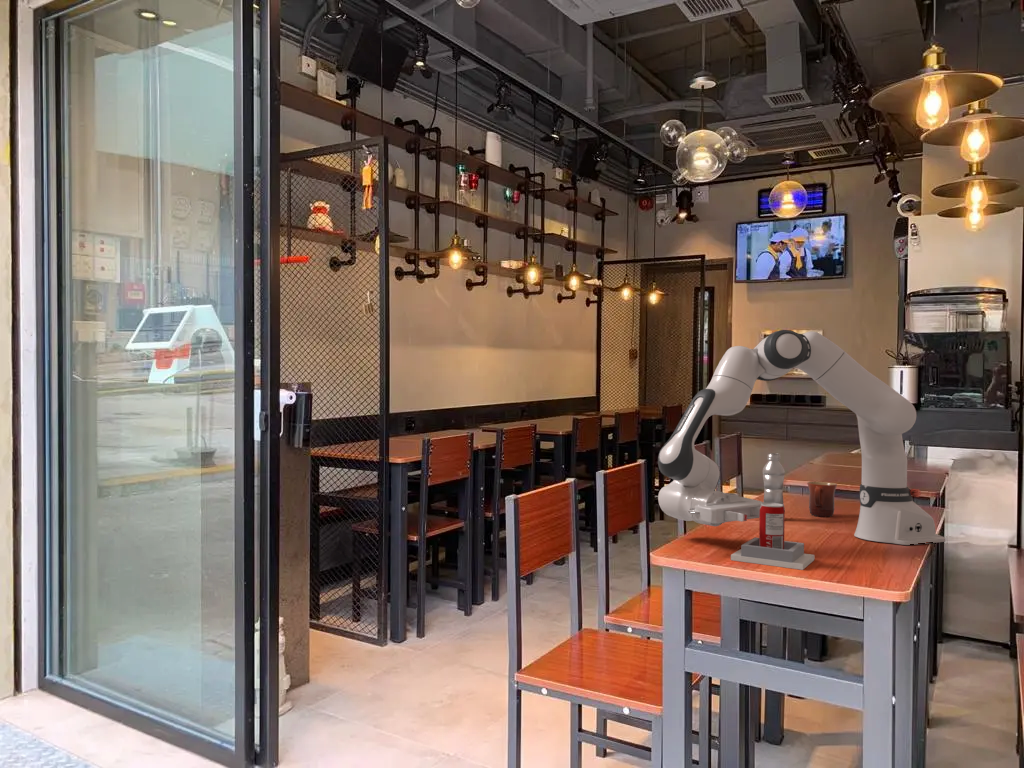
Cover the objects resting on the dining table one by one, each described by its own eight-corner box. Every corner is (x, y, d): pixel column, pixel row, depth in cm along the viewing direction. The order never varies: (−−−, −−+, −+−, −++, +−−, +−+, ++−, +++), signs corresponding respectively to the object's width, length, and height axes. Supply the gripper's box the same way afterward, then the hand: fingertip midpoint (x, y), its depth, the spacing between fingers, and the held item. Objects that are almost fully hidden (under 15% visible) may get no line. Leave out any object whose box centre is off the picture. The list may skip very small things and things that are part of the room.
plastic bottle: (787, 521, 232) (788, 455, 232) (765, 520, 232) (766, 454, 233) (780, 517, 239) (781, 453, 239) (758, 517, 239) (759, 452, 239)
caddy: (745, 551, 188) (745, 536, 188) (814, 560, 180) (814, 544, 180) (730, 560, 178) (731, 544, 178) (802, 569, 169) (803, 553, 169)
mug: (810, 512, 249) (810, 480, 249) (838, 515, 245) (839, 483, 245) (801, 517, 239) (802, 484, 239) (831, 520, 235) (831, 486, 235)
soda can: (769, 551, 183) (769, 500, 183) (788, 555, 178) (789, 503, 178) (754, 553, 180) (754, 502, 180) (774, 558, 175) (774, 505, 175)
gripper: (683, 498, 188) (729, 506, 176) (737, 492, 199) (784, 499, 188) (683, 524, 188) (729, 533, 176) (737, 517, 199) (783, 525, 188)
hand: (757, 516), depth 182 cm, fingers open, 8 cm apart
